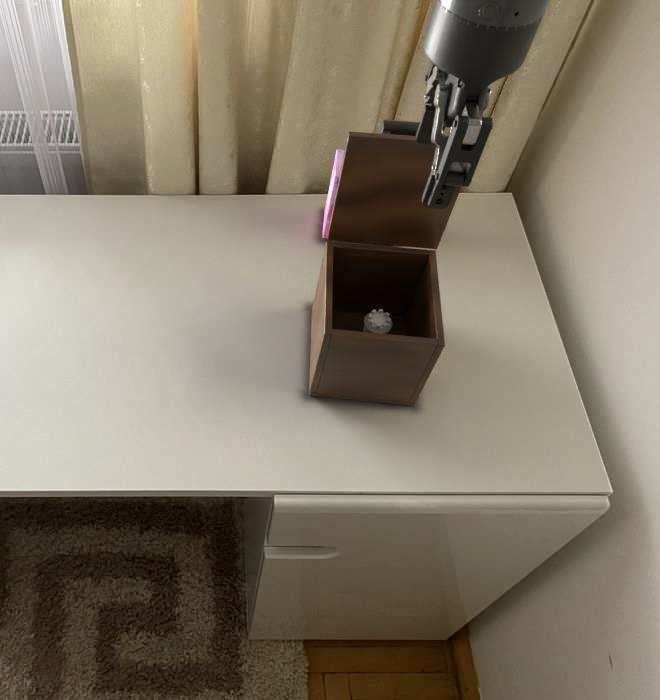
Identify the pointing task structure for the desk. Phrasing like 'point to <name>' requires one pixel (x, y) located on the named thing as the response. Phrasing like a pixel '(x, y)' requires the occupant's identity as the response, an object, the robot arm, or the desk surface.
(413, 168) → the lid
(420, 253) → the chest
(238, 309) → the desk surface
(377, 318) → the rook chess piece
